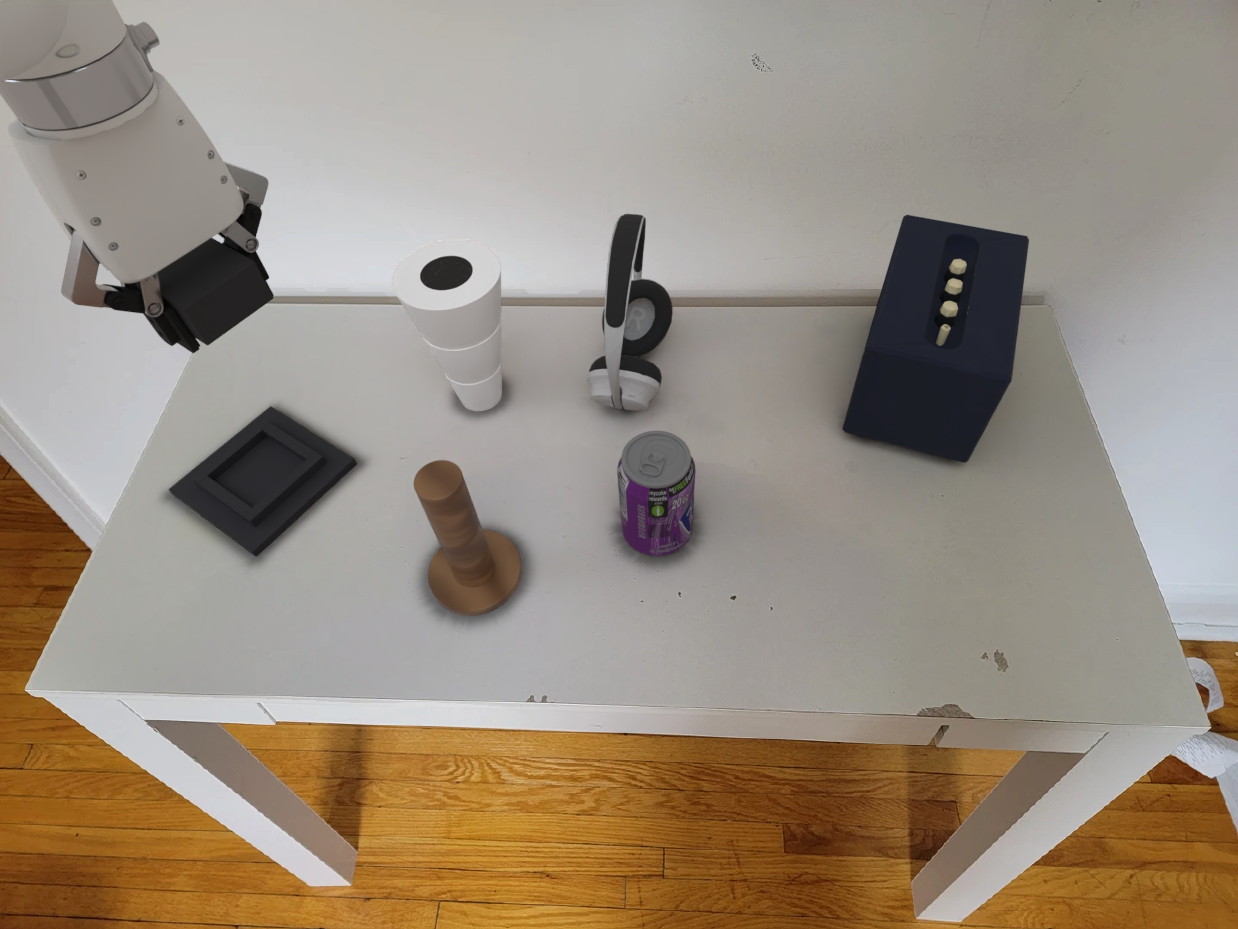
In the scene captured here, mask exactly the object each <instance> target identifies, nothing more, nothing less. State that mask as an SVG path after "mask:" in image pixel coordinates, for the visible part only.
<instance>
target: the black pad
mask: <svg viewBox="0 0 1238 929" xmlns="http://www.w3.org/2000/svg"><path fill="white" fill-rule="evenodd" d="M222 243H223V242H220V241H219V240H217V239H215V238H214V237H212V238H210V239H209V240H207V241H206V242H204V243H203V244H201V245H199V246H198V247H196V248H195V249H193V250H192V251H190V252H189V253H187V254H186V255H184V256H182V257H181V258H179V259H178V260H176V261H174V262H173V263H171V264H170V265H168V266H167V267H165V268H163V269H162V270H160V271H159V272H158V277H159V283H160V288H161V294H162V299H163V301H164V302H165V303H167V304H168V305H170V306H171V307H173V308H174V309H175V310H176V311H177V313H178V314H179V315H180V317H181V318H182V320H183V321H184V323H185V324H186V326H187V327H188V329H189V330H190V332H191V333H192V335H193V336H194V337H195V338H196V340H197V341H198V342H201V343H202V344H205V345H206V346H210V345H211V344H213V343H214V342H215V341H217V340H218V339H220V338H221V337H222V336H224V335H225V334H226V333H228V332H229V331H231V330H232V329H234V327H236V326H238V325H239V324H241V322H243V321H245V320H246V319H247V318H249V317H250V316H251V315H253V314H254V313H255V312H257V311H259V310H260V309H261V308H262V307H264V306H265V305H267V304H268V303H270V302H271V301H272V300H274V296H272V294H271V292H270V290H269V288H268V286H267V284H266V283H265V281H264V279H263V277H262V275H261V273H260V271H259V269H258V268H257V266H256V264H255V262H254V261H253V260H251V259H249V258H247V257H246V256H244V255H242V254H240V253H238V252H237V251H235V250H233V249H231V248H229V247H228V246H226V245H224V244H222Z"/></svg>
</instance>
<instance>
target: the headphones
mask: <svg viewBox="0 0 1238 929" xmlns="http://www.w3.org/2000/svg"><path fill="white" fill-rule="evenodd" d="M646 224H647V219H646V217H645V216H643V214H636V213H624V214H622V215H619V217H618V218H617V219H616V221H615V223H614V226H613V229H612V233H611V237H610V242H609V247H608V254H607V267H606V273H605V275H606V276H605V290H604V291H605V292H604V307H603V310H602V315H601V329H602V330H601V331H602V333H603V336H604V352H605V353H604V354H605V355H604V356H600V357H599V358H597V359H595V360H594V361H593V362H592V364H591V365H590V368H589V370H588V372H587V375H586V376H587V379H586V382H587V383H588V385H589V388H590V398H591V399H592V400H593V401H595V402H596V403H599V404H601V405H603V406H606V407H610V408H614V409H616V410H619V411H620V410H622V409H624V410H625V411H643V410H647V409H648V406H649V403H650V402H651V400H653V398H654V397H655V396H657V395H658V394H659V392H660V389H661V386H662V380H663V379H662V378H663V375H662V372H661V369H660V367H658V366H657V365H656V364H655V363H654V362H652V361H650V360H648V359H646V358H642V356H644V355H647V354H649V353H650V352H652V351H653V350H654V349H656V348H657V347H658V346H659V345H660V344H661V343H662V341H663V340H664V339H665V337H666V336H667V334H668V332H669V329H670V327H671V325H672V322H673V314H674V312H673V310H674V309H673V308H674V306H673V302H672V299H671V296H670V294H669V292H668V290H667V289H666V288H665V287H664V286H663V285H661V283H659V282H657V281H655V280H653V279H650V278H643V265H644V264H643V263H644V252H645V251H644V250H645V242H646V227H647V226H646ZM632 278H633V279H632Z"/></svg>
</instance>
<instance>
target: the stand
mask: <svg viewBox="0 0 1238 929" xmlns="http://www.w3.org/2000/svg"><path fill="white" fill-rule="evenodd" d="M413 489H414V491H415V493H416V496H417V499H418V500H419V502H420V504H421V507H422V509H423V511H424V513H425V516H426V518H427V520H428V522H429V524H430V526H431V528H432V530H433V533H434V535H435V537H436V540H437V541H438V544H439V546H440V547H439V548H438V549H437V550H436V552H435V553H434V555H433V556H432V558H431V560H430V563H429V567H428V571H427V579H428V586H429V589H430V591H431V593H432V595H433V597H434V599H435V600H436V601H437V603H438V604H439V605H440V606H441V607H443V608H444V609H445V610H447V611H449V612H451V613H453V614H456V615H460V616H467V617H469V616H470V617H471V616H472V617H473V616H481V615H484V614H488V613H490V612H493V611H494V610H496V609H498V608H500V607H501V606H503V605H504V604H505V603H506V602H507V601H509V600H510V598H511V597H512V596H514V594H515V592H516V591H517V589H518V587H519V585H520V582H521V579H522V575H523V574H522V573H523V565H522V560H521V557H520V553H519V551H518V549H517V547H516V546H515V544H514V543H513V542H512V541H511V540H510V539H509V538H508V537H507V536H505V535H503V534H501V533H500V532H498V531H494V530H490V529H483V527H482V524H481V522H480V519H479V516H478V514H477V510H476V507H475V505H474V502H473V499H472V496H471V493H470V491H469V488H468V486H467V482H466V480H465V477H464V474H463V471H462V469H461V467H460V466H459V465H458V464H456V463H455V462H453V461H450V460H445V459H438V460H433V461H431V462H428V463H425V465H423V466H422V467H420V468H419V470H418V471H417V472H416V474H415V476H414V478H413Z"/></svg>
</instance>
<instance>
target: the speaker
mask: <svg viewBox="0 0 1238 929" xmlns="http://www.w3.org/2000/svg"><path fill="white" fill-rule="evenodd" d="M1029 244H1030V239H1029V236H1027V235H1023V234H1018V233H1012V232H1007V231H1001V230H995V229H990V228H984V227H978V226H973V225H967V224H961V223H955V222H950V221H945V220H938V219H933V218H927V217H923V216H922V217H921V216H918V215H917V216H916V215H911V214H905V215H904V216H903V217H902V219H901V223H900V226H899V229H898V233H897V237H896V239H895V243H894V247H893V249H892V253H891V256H890V259H889V262H888V266H887V270H886V273H885V277H884V280H883V282H882V287H881V290H880V293H879V297H878V300H877V304H876V307H875V311H874V314H873V318H872V321H871V325H870V328H869V332H868V336H867V339H866V343H865V346H864V350H863V354H862V357H861V361H860V363H859V368H858V371H857V375H856V378H855V382H854V385H853V388H852V392H851V396H850V400H849V404H848V406H847V410H846V414H845V417H844V421H843V424H842V431H843V432H844V433H845V434H850V435H854V436H857V437H861V438H865V439H869V440H873V441H877V442H881V443H885V444H889V445H893V446H897V447H900V448H904V449H908V450H913V451H916V452H920V453H925V454H928V455H932V456H936V457H941V458H944V459H948V460H952V461H956V462H960V463H964V464H966V463H967V462H969V460H970V458H971V457H972V455H973V453H974V451H975V450H976V447H977V445H978V443H979V442H980V440H981V438H982V436H983V434H984V432H985V430H987V427H988V426H989V423H990V421H991V419H992V417H993V415H994V414H995V412H996V410H997V409H998V406H999V404H1001V401H1002V399H1003V397H1004V396H1005V393H1006V392H1007V390H1008V388H1009V386H1010V384H1011V382H1012V381H1013V380H1012V379H1013V372H1014V364H1015V356H1016V348H1017V342H1018V341H1017V340H1018V333H1019V332H1018V331H1019V325H1020V316H1021V310H1022V302H1023V301H1022V299H1023V293H1024V292H1023V291H1024V284H1025V277H1026V276H1025V275H1026V268H1027V259H1028V252H1029Z"/></svg>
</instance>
